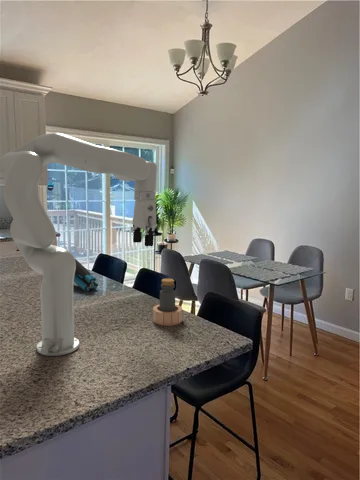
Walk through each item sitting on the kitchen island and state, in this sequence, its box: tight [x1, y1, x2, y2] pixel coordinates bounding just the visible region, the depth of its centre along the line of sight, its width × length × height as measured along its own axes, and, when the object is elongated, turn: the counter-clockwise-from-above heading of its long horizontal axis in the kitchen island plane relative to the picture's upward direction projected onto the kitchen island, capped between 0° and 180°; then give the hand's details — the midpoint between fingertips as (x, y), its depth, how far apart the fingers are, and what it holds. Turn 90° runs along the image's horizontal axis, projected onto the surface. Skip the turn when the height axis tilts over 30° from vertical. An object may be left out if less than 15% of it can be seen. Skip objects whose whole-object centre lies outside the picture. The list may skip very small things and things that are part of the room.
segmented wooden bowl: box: [152, 303, 183, 327], centre depth 140 cm, size 11×11×5 cm
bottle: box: [159, 278, 176, 312], centre depth 139 cm, size 6×6×15 cm
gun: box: [74, 258, 99, 293], centre depth 184 cm, size 8×26×15 cm, turn 46°
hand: (142, 244), depth 134 cm, fingers open, 9 cm apart
